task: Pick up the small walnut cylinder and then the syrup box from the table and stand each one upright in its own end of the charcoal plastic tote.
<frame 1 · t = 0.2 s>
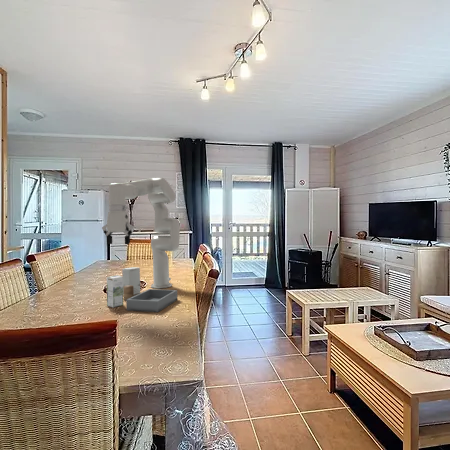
hand: (118, 244, 156), 30 cm above the table, tool pointing down, fingers open, 9 cm apart
skincare box: (131, 294, 181), on the table
syrup box: (115, 306, 158), on the table
tote: (153, 304, 158), on the table
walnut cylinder: (128, 299, 169), on the table
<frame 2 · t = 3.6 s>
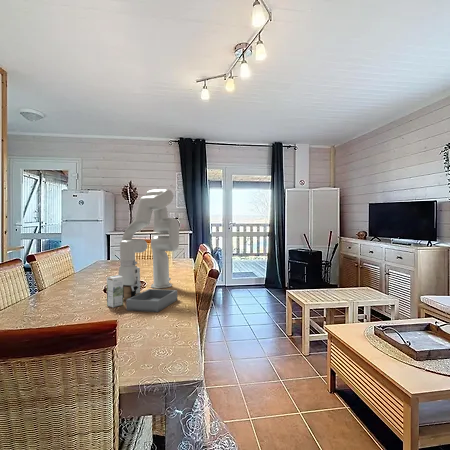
hand: (128, 297, 169), 1 cm above the table, tool pointing down, fingers closed on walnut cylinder, 4 cm apart
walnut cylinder: (128, 299, 169), on the table, touching gripper
everything else where it was.
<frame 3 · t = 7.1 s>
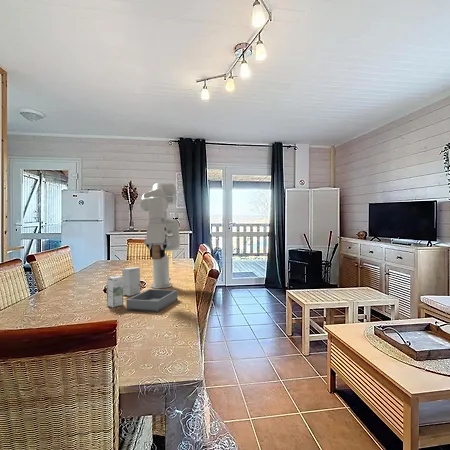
hand: (157, 256, 162), 23 cm above the table, tool pointing down, fingers closed on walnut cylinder, 4 cm apart
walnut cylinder: (157, 258, 162), point 22 cm above the table, touching gripper
everything else where it was.
when the fingers open (4 cm above the table, at t = 10.9 s): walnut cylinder drops 2 cm, resting on tote.
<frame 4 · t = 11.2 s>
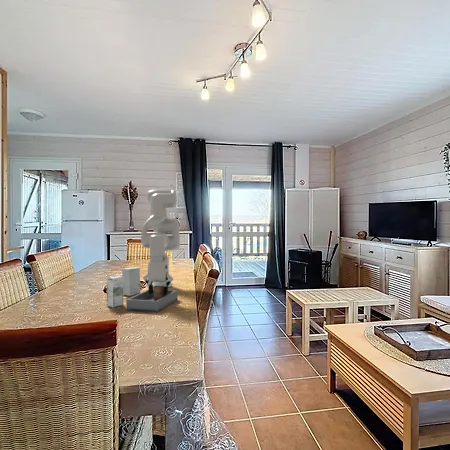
hand: (158, 293, 163), 4 cm above the table, tool pointing down, fingers open, 7 cm apart
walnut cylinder: (158, 299, 163), point 1 cm above the table, touching tote
everything else where it was.
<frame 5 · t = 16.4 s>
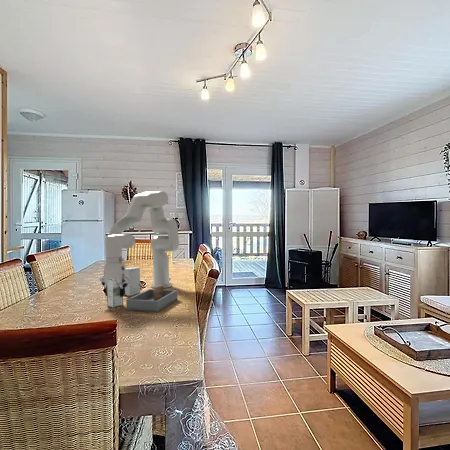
hand: (115, 295, 157), 5 cm above the table, tool pointing down, fingers closed on syrup box, 7 cm apart
syrup box: (115, 306, 158), on the table, touching gripper
everything else where it was.
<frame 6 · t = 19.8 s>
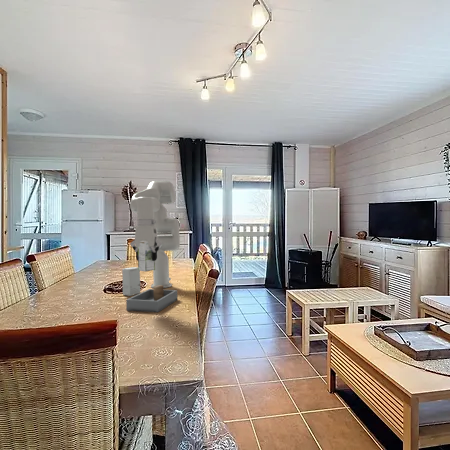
hand: (146, 260, 152), 23 cm above the table, tool pointing down, fingers closed on syrup box, 7 cm apart
syrup box: (146, 270, 152), point 18 cm above the table, touching gripper
everything else where it was.
when the fingers open (7 cm above the table, at t = 23.1 s): syrup box drops 1 cm, resting on tote.
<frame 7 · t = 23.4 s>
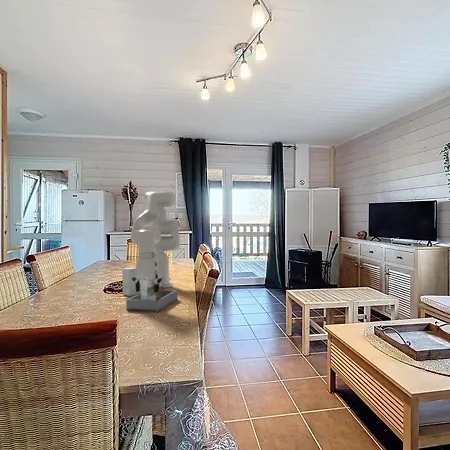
hand: (147, 291, 152), 8 cm above the table, tool pointing down, fingers open, 9 cm apart
syrup box: (148, 306, 153), point 1 cm above the table, touching tote
everything else where it was.
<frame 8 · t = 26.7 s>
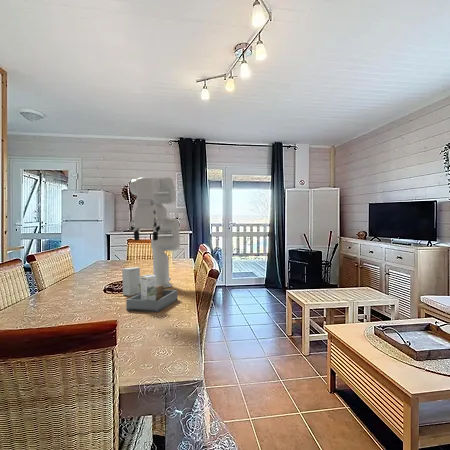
hand: (146, 240, 152), 32 cm above the table, tool pointing down, fingers open, 9 cm apart
nothing on the table moved.
at the end: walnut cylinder inside the target area on the tote (5.4 cm from its centre), point 1.0 cm above the tote's base; syrup box inside the target area on the tote (5.3 cm from its centre), point 0.8 cm above the tote's base; syrup box tilted 0° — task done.
